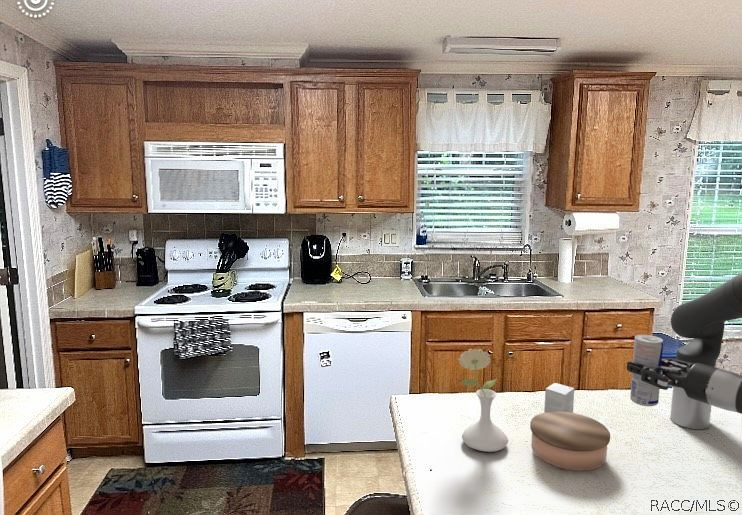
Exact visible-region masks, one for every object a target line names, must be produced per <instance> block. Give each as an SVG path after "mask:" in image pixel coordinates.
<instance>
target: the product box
mask: <svg viewBox="0 0 742 515" xmlns="http://www.w3.org/2000/svg"><path fill="white" fill-rule="evenodd" d="M574 401H575V388H574V387H572V386H567V385H564V384H560V383H557V382H554V383H552V384H550V385H548V387H546V388H545V394H544V408H543V413H545V412H553V411H561V412H571V413H574V403H575V402H574Z"/></svg>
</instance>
